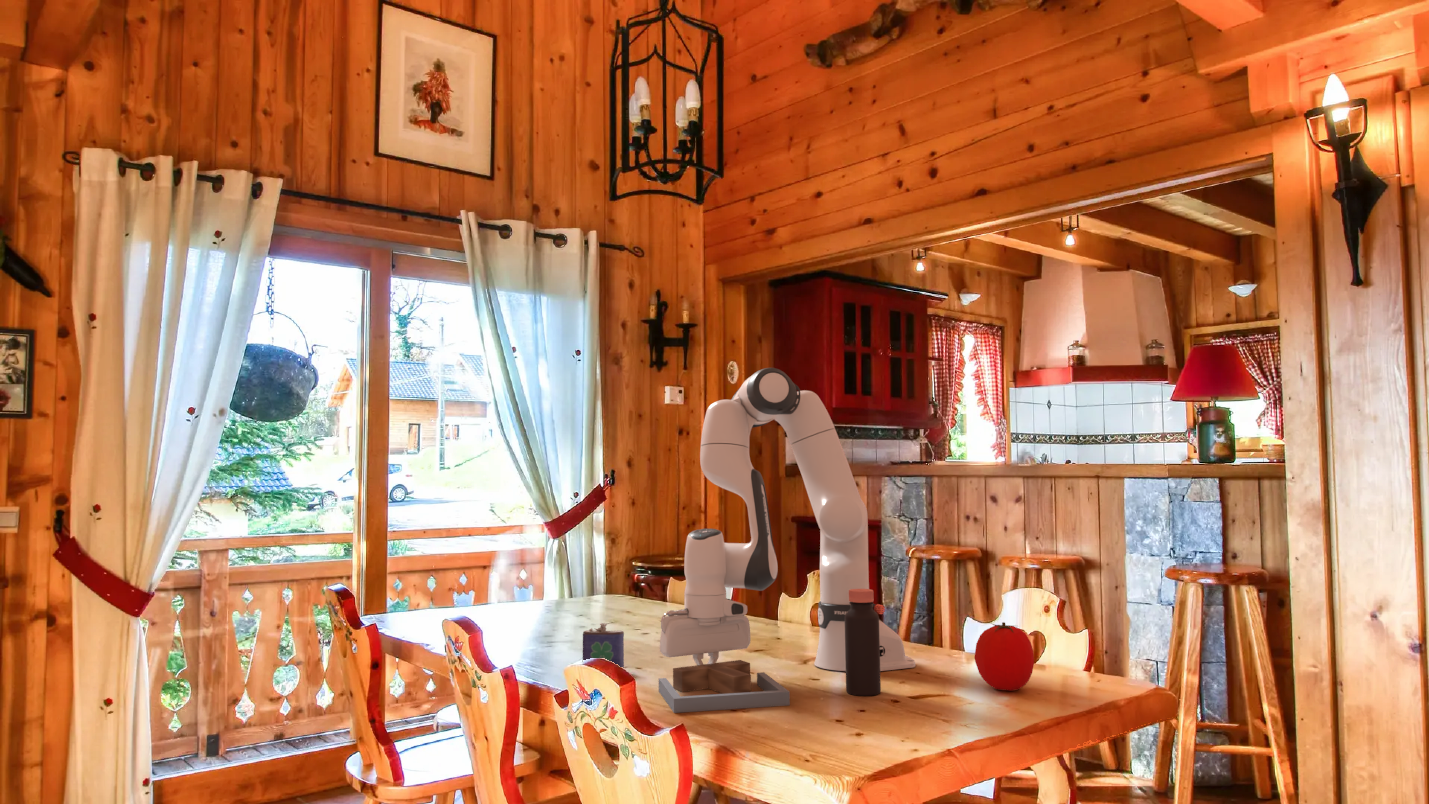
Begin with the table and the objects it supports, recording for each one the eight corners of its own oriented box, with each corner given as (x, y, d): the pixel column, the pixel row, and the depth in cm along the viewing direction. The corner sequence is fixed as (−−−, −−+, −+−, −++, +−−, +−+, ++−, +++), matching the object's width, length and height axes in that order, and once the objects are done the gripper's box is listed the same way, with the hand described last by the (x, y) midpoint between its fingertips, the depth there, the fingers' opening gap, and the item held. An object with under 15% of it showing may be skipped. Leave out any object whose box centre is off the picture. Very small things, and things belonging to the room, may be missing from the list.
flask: (624, 670, 209) (624, 621, 210) (622, 673, 206) (622, 623, 207) (583, 670, 210) (583, 622, 210) (581, 673, 207) (580, 624, 207)
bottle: (840, 690, 187) (838, 588, 189) (872, 687, 189) (869, 587, 191) (854, 697, 181) (851, 592, 183) (886, 695, 183) (884, 591, 184)
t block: (740, 679, 199) (740, 659, 199) (776, 691, 187) (776, 671, 187) (673, 688, 191) (673, 668, 191) (706, 702, 179) (706, 680, 179)
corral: (764, 684, 193) (764, 672, 193) (789, 705, 176) (789, 691, 176) (658, 691, 188) (658, 678, 189) (673, 712, 171) (673, 698, 171)
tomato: (1050, 691, 184) (1047, 623, 185) (1006, 699, 178) (1003, 628, 179) (1004, 680, 194) (1002, 616, 195) (961, 688, 188) (959, 621, 189)
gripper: (668, 613, 189) (668, 683, 188) (754, 605, 199) (754, 671, 198) (654, 609, 194) (654, 677, 193) (738, 602, 205) (739, 666, 203)
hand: (705, 674), depth 196 cm, fingers closed
